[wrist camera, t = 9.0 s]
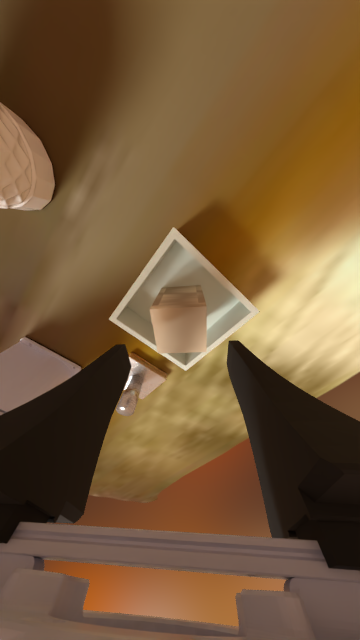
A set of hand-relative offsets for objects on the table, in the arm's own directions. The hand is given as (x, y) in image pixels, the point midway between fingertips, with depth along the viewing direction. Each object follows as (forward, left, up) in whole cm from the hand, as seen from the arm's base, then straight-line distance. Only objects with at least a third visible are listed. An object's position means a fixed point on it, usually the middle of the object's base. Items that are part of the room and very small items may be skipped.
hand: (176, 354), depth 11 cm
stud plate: (+3, -15, -10) cm, 18 cm away
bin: (0, 0, -10) cm, 10 cm away
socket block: (0, 0, -9) cm, 9 cm away
